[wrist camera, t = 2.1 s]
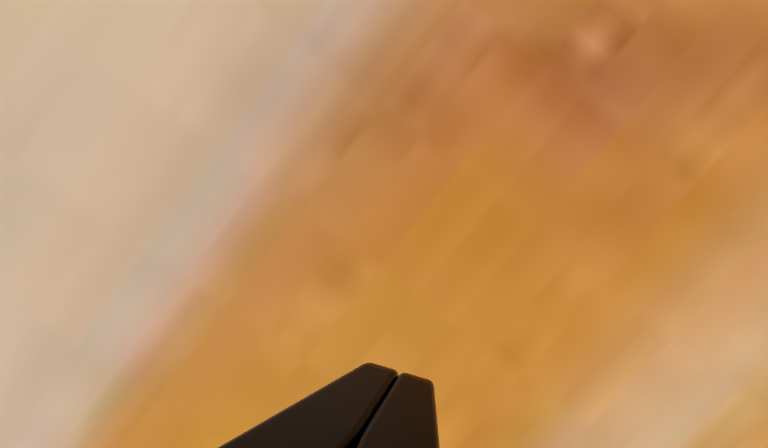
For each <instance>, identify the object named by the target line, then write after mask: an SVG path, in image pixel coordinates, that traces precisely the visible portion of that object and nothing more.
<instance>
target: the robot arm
mask: <svg viewBox="0 0 768 448" xmlns="http://www.w3.org/2000/svg"><path fill="white" fill-rule="evenodd" d="M218 448H440V447H439V436H438V426H437V416H436V405H435V395H434V385H433V383H432V382H431V381H430V380H428V379H425V378H421V377H418V376H414V375H411V374H408V373H402V374H400V375H398V373H397V372H396V370H394V369H390V368H387V367H383V366H380V365H376V364H373V363H366V364H363V365H361V366H359V367H358V368H356V369H354V370H352V371H351V372H349V373H347V374H346V375H344V376H342V377H340V378H339V379H337V380H335V381H333V382H332V383H330V384H328V385H326V386H325V387H323V388H321V389H319V390H318V391H316V392H314V393H312V394H311V395H309V396H307V397H305V398H304V399H302V400H300V401H299V402H297V403H295V404H293V405H292V406H290V407H288V408H286V409H285V410H283V411H281V412H279V413H278V414H276V415H274V416H272V417H271V418H269V419H267V420H265V421H264V422H262V423H260V424H258V425H257V426H255V427H253V428H251V429H250V430H248V431H246V432H245V433H243V434H241V435H239V436H238V437H236V438H234V439H232V440H231V441H229V442H227V443H225V444H224V445H222V446H220V447H218Z"/></svg>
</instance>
